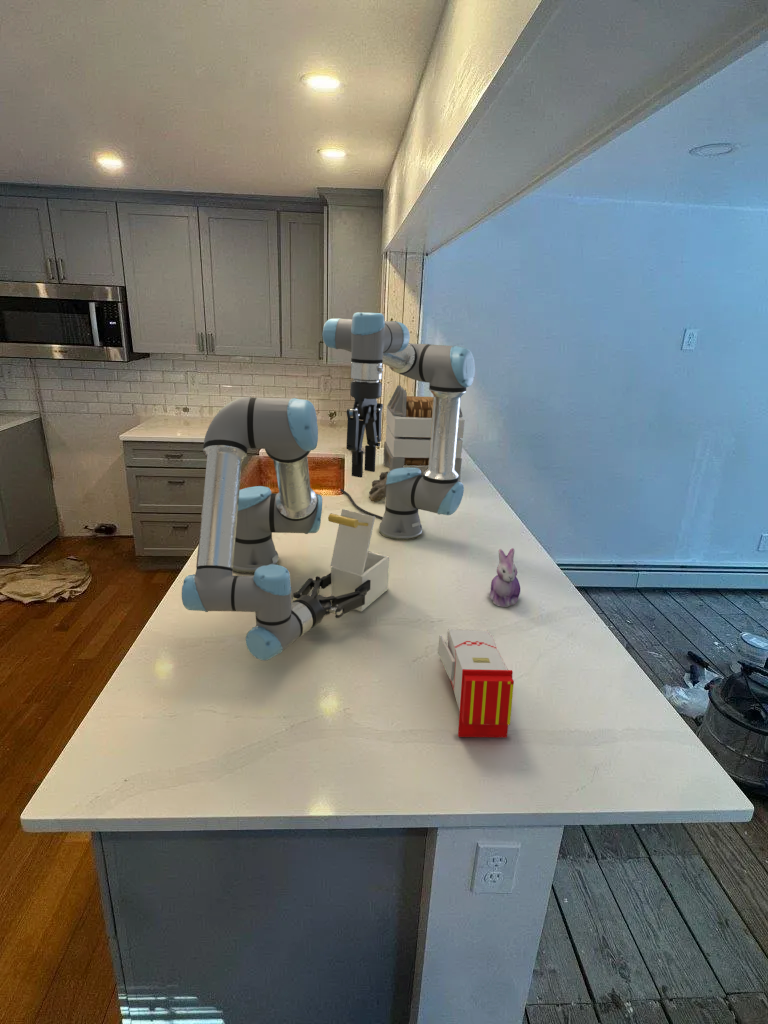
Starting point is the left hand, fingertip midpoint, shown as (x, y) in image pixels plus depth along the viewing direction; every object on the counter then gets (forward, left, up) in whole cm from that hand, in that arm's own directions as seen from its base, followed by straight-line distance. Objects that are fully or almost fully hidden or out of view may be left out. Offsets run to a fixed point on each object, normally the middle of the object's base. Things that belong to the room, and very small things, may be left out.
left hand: (352, 579), depth 150 cm
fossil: (-38, +85, -7) cm, 93 cm away
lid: (0, 0, +11) cm, 11 cm away
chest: (0, +4, -7) cm, 8 cm away
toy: (+41, -19, -7) cm, 45 cm away
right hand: (0, +4, +28) cm, 29 cm away
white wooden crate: (-40, +126, -7) cm, 133 cm away
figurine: (+35, +24, -7) cm, 43 cm away
